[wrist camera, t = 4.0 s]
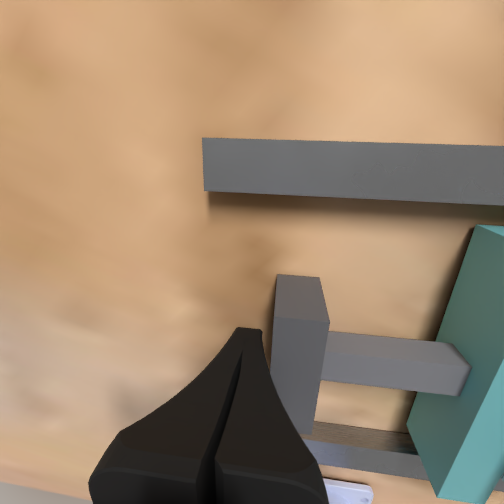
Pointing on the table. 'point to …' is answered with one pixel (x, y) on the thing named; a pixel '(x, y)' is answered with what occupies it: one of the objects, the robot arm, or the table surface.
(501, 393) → the sliding jaw
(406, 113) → the table surface
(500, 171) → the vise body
